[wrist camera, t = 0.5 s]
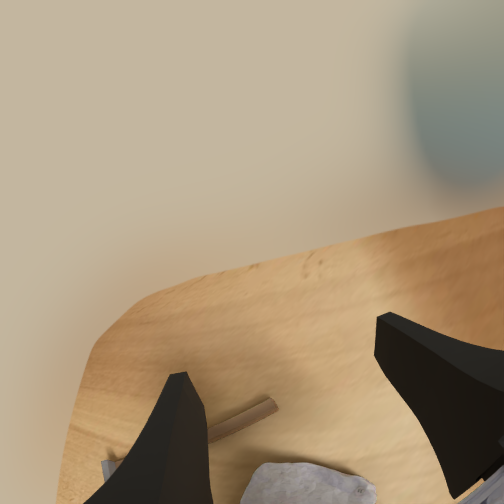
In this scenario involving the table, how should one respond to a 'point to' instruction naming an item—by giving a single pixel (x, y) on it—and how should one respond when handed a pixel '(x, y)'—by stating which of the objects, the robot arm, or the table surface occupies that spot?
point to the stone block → (306, 486)
